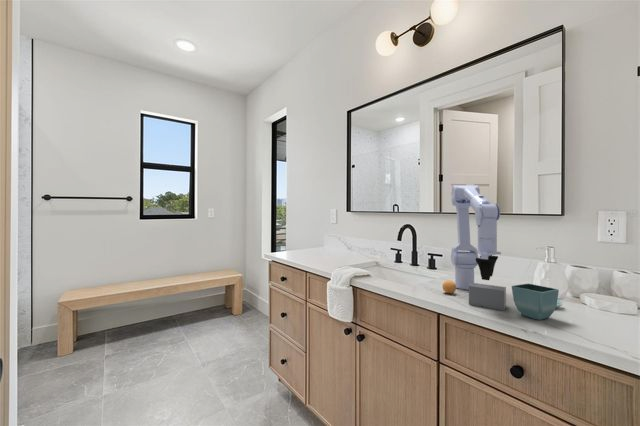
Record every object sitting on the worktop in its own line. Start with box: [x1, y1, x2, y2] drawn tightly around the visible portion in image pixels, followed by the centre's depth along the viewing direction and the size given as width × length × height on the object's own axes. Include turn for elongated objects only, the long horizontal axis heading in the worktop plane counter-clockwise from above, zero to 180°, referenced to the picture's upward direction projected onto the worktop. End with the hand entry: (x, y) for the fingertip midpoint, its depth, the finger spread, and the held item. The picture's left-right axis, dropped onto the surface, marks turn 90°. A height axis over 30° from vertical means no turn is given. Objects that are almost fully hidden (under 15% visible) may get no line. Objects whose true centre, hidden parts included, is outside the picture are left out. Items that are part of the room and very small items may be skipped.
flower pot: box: [511, 283, 560, 321], centre depth 86 cm, size 9×9×9 cm
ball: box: [442, 280, 457, 294], centre depth 112 cm, size 5×5×5 cm
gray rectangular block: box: [468, 282, 507, 311], centre depth 97 cm, size 6×10×6 cm, turn 53°
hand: (487, 277), depth 97 cm, fingers open, 7 cm apart
